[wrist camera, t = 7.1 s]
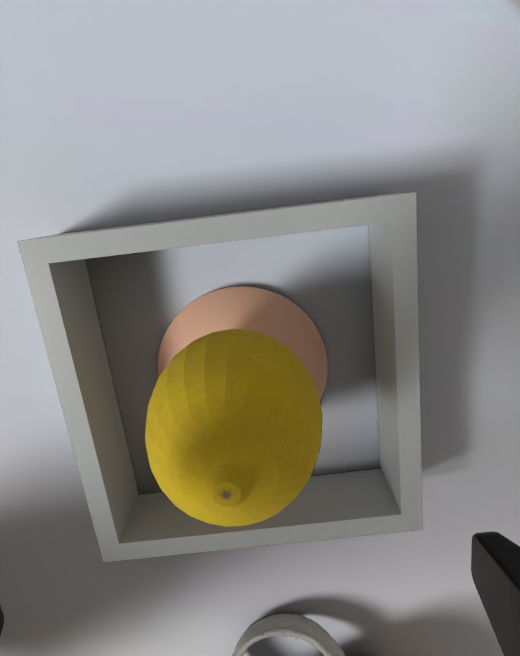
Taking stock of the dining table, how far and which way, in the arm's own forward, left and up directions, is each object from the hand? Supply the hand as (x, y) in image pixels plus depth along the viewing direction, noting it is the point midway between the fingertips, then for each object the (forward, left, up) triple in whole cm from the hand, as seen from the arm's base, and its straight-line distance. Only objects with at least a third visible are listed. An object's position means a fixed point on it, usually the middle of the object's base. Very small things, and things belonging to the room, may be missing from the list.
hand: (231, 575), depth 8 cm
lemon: (0, 0, -11) cm, 11 cm away
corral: (0, 0, -11) cm, 11 cm away
